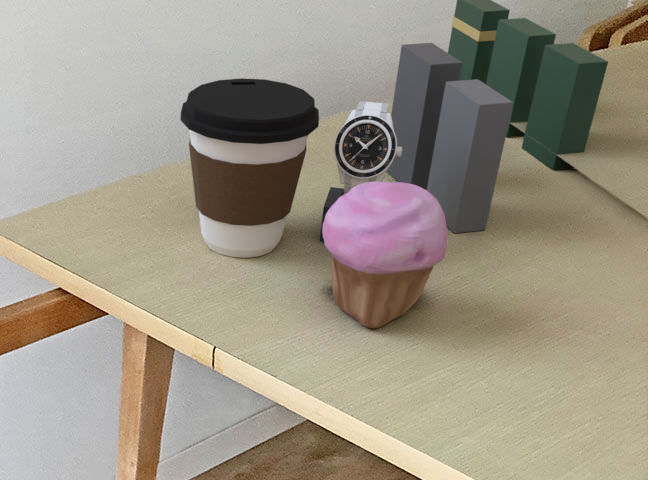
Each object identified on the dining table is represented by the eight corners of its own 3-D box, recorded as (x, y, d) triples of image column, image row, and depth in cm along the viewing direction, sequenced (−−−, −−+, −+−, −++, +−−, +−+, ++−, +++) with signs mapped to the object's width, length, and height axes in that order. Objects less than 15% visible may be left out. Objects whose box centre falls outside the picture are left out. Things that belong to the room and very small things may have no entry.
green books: (580, 167, 105) (608, 61, 99) (552, 170, 104) (579, 63, 98) (504, 115, 116) (525, 17, 110) (478, 118, 116) (498, 19, 110)
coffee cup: (169, 216, 95) (173, 77, 88) (291, 213, 96) (305, 74, 88) (184, 273, 87) (189, 124, 79) (318, 269, 87) (335, 121, 80)
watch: (316, 251, 90) (331, 119, 83) (329, 213, 96) (344, 87, 89) (383, 259, 89) (405, 126, 82) (392, 220, 95) (413, 93, 88)
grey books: (485, 230, 94) (514, 95, 86) (453, 233, 93) (481, 98, 86) (411, 166, 105) (432, 42, 98) (382, 168, 104) (401, 44, 97)
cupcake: (292, 301, 83) (305, 175, 77) (380, 276, 87) (400, 154, 80) (364, 353, 77) (385, 221, 71) (456, 324, 81) (484, 196, 74)
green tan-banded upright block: (490, 106, 119) (510, 9, 112) (465, 108, 118) (483, 11, 112) (464, 89, 123) (482, -5, 117) (440, 91, 123) (456, -4, 116)
